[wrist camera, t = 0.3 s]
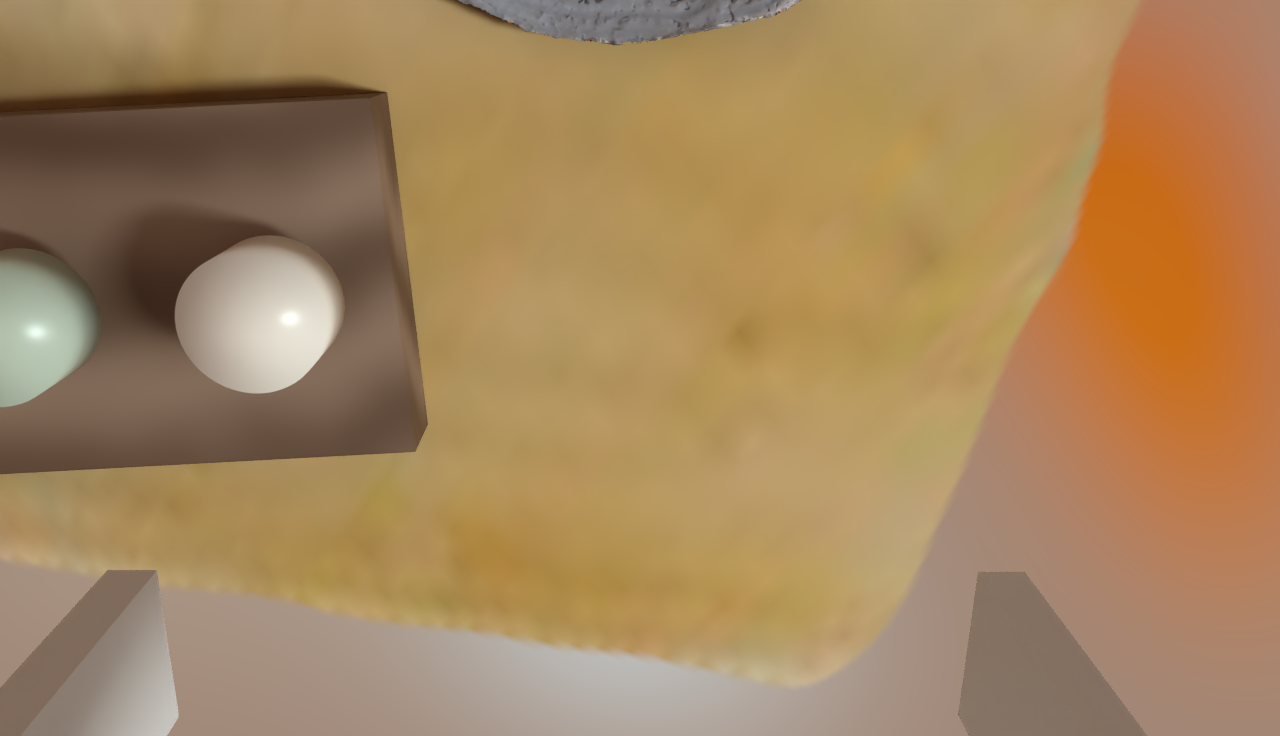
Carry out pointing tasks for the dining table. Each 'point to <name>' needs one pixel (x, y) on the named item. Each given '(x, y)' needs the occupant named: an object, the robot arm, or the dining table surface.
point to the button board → (188, 237)
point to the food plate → (627, 16)
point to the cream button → (259, 313)
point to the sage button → (42, 323)
